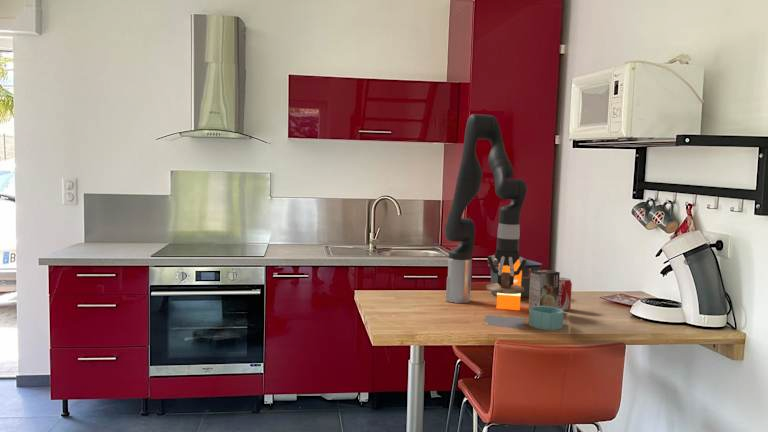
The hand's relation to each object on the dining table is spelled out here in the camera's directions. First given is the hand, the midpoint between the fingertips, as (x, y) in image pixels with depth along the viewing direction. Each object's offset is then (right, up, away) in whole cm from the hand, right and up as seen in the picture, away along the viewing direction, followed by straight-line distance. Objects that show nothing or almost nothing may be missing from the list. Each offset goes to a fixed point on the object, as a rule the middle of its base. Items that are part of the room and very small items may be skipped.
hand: (505, 285), depth 222 cm
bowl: (+13, -14, -2) cm, 19 cm away
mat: (0, -13, +1) cm, 13 cm away
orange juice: (+6, -12, +23) cm, 26 cm away
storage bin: (+13, -10, +46) cm, 49 cm away
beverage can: (+26, -12, +24) cm, 38 cm away
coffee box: (+17, -13, +16) cm, 27 cm away
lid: (0, -1, 0) cm, 1 cm away
